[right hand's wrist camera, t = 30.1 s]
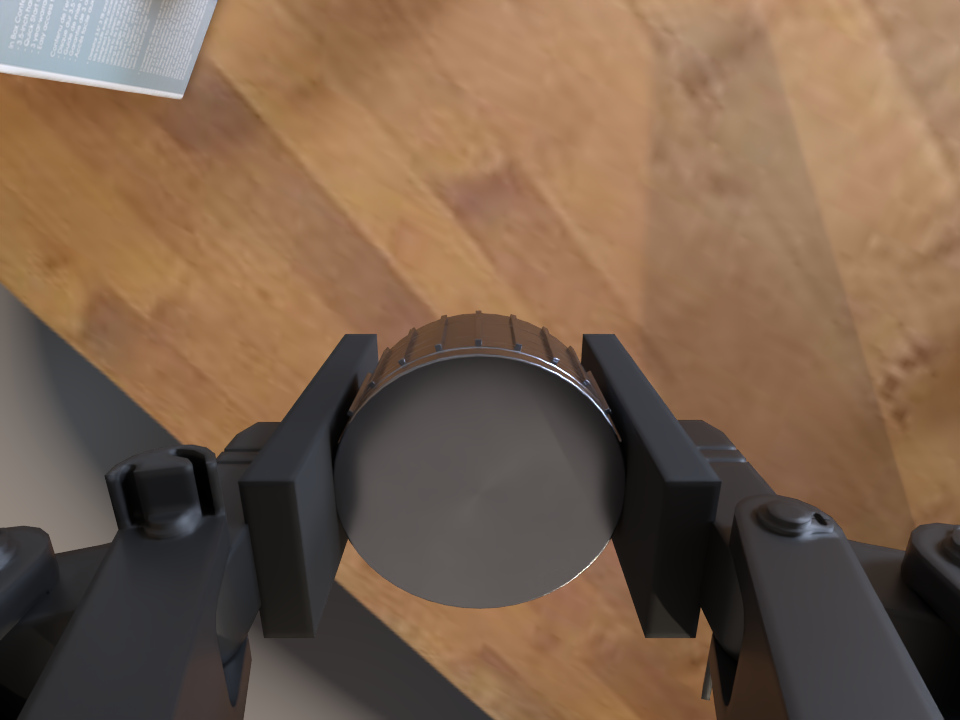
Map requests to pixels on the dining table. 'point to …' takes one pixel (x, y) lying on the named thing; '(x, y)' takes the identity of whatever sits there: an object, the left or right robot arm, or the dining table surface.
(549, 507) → the lid
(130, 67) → the hard drive box
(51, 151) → the dining table surface
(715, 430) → the right robot arm
